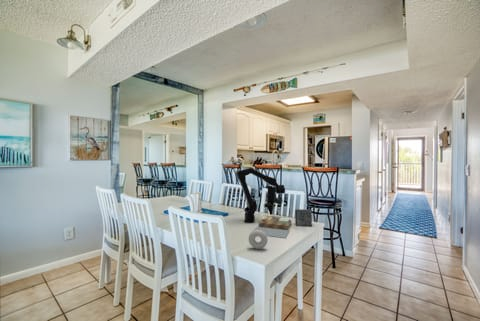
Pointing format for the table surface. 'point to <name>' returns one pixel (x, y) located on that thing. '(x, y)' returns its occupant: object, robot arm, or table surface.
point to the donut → (260, 234)
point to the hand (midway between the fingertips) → (271, 214)
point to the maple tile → (267, 218)
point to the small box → (303, 217)
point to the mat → (273, 232)
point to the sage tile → (284, 220)
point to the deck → (275, 224)
